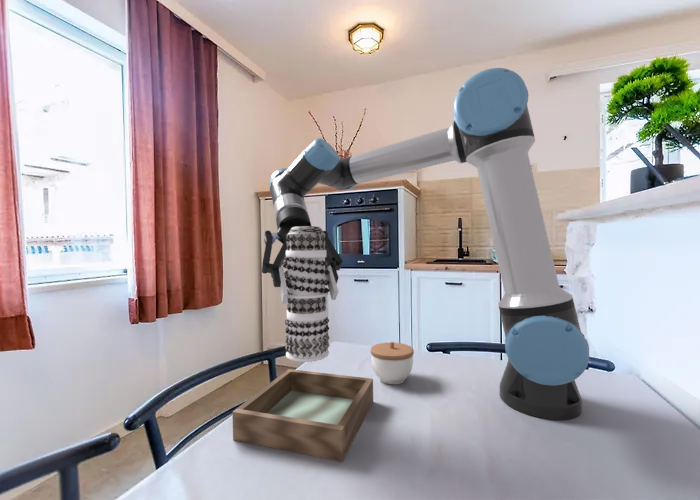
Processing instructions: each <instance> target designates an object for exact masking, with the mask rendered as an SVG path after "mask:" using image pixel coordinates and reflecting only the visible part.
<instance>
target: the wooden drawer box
mask: <svg viewBox="0 0 700 500" xmlns="http://www.w3.org/2000/svg"><path fill="white" fill-rule="evenodd" d="M373 403H374V378H369V377H361V376H352V375H345V374H343V375H342V374H336V373H327V372H326V373H325V372H317V371H310V370H309V371H307V370H299V369H291V368H288V369H287V370H286V371H285V370H284V372H283V373H281V374H279V376H277V377H276V378H275V379H274V380H272V381H270V383H268V384H267V385H266V386H264V387H263V388H262V389H261V390H259V391H257V392H256V393H255V394H254V395H252V396H251V397H250V398H249V399H247V400H246V401H245V402H244V403H242V404H240V405H239V406H238V407H237V408H236V409H234V410H232V440H233V441H238V442H243V443H246V444H253V445H257V446H262V447H266V448H267V447H268V448H272V449H278V450H283V451H288V452H291V453H292V452H293V453H296V454H297V453H298V454H303V455H308V456H313V457H316V458H317V457H318V458H320V459H321V458H323V459H327V460H328V459H329V460H333V461H338V462H343V461H344V459H345V458H346V456H347V454H348V452H349V449H350V448H351V446H352V444H353V442H354V439H355V438H356V436H357V434H358V433H359V430H360V428H361V427H362V424H363V423H364V421H365V419H366V417H367V415H368V412H369V411H370V409H371V407H372V405H373Z"/></svg>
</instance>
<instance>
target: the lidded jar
mask: <svg viewBox="0 0 700 500" xmlns="http://www.w3.org/2000/svg"><path fill="white" fill-rule="evenodd" d="M414 352H415V350H414V348H413V347H412V346H410V345H408V344H405V343H401V342H394V341H389V342H381V343H377V344H374V345H372V346H371V348H370V358H371V360H370V361H371V365H372V369H373V371H374V373H375V375H376V376H377V377H378V378H379V379H380V382H382V383H384V384H388V385H400V384H402V383H404V382H405V380H406V379H407V378H408V377H409V375H410V374H411V373H412V370H413V367H414V366H413V365H414Z"/></svg>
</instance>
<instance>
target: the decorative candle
mask: <svg viewBox="0 0 700 500" xmlns="http://www.w3.org/2000/svg"><path fill="white" fill-rule="evenodd" d="M323 231H324V230H323V229H322V228H321V227H320V226H312V225H311V226H298V227H292V228H291V229H290V231H289V233H288V234H287V236H286V239H287V240H286V243H287V250H286V256H284V257H283V256H282V258H283V259H284V262H283V263H282V267H283V269H287V270H286V271H285V270H284V275H285V281H286V286H287V292H288V297H287V302H286V304H287V309H286V319H285V320H284V324H285V325H286V327H284V328H285V329H284V331H285V333H286V334H287V335H286V336H285V337H284V341H285V343H286V344H285V345H284V346H285V359H287V360H290V361H293V362H298V363H309V362H317V361H320V360H324V359H325V358H328V356H329V355H330V352H329V348H330V347H331V345H330V344H329V340H330V335H329V333H327V332H328V331H329V330H330V327H329V325H328V323H329V322H330V319H329V318H328V308H327V296H329V293H330V292H329V289H328V288H327V287H326V286H328V284H329V281H327V280H326V278H325V275H328V274H329V273H330V271H328V270H326V269H325V268H327V267H328V266H329V265H330V264H329V263H328V262H327V261H326V262H325V257H326V250H325V235H326V234H324V232H323Z"/></svg>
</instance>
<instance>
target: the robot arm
mask: <svg viewBox="0 0 700 500" xmlns="http://www.w3.org/2000/svg"><path fill="white" fill-rule="evenodd" d="M453 101H454V102H453V112H452V113H453V119H454V120H453V121H452V122H451V124H450V125H449V126H448V127H445V128H442V129H438V130H435V131H431V132H429V133H426V134H421V135H419V136H414V137H411V138H409V139H405V140H401V141H398V142H394V143H391V144H386V145H385V146H384V145H383V146H381V147H378V148H374V149H370V150H367V151H364V152H360V153H357V154H354V155H351V156H348V157H344V158H340V155H339V154H338V152H337V151H336V150H335V148H334V147H333V146H332V145H331V144H330V143H329V142H328V141H326V140H325V139H324V138H321V137H320V138H319V137H318V138H316V139H314V140H313V141H312V142H311V143H310V144H309V145H308V146H306V147H305V149H303V151H302V152H301V153H300V154H299V155H298V157H296V159H295V160H294V161H293V162H292V163H291V164H290V166H288V168H284V167H283V168H280V169H278V170H275V171H273V173H272V174H271V176H270V178H269V192H270V195H271V200H272V205H273V210H274V217H275V223H276V229H277V232H271V231H270V230H265V231H264V240H263V242H264V244H265V247H264V252H263V257H262V263H261V264H262V266H261V273H262V274H268V273H269V274H270V277H271V278H272V283H273V286H274V288H279V292H280V299H281V304H282V305H284V304H287V297H288V292H287V289H288V287H287V286H286V281H285V280H286V278H285V275H284V273H285V270H284V269H285V268H284V267H283V265H282V263H283V262H285V260H284V259H283V258H282V256H283V257H284V256H286V250H287V243H286V240H287V239H286V236H287V234H288V233H289V231H290V229H291V228H292V227H298V226H312V222H311V219H310V216H309V211H308V208H307V205H306V201H305V196H307V194H308V193H309V192H310V191H312V190H313V189H314V188H315V187H316V186H317V185H318V184H320V185H324V186H328V187H330V188H331V187H332V188H334V189H336V190H339V191H351V190H352V189H354V188H355V187H356V186H357V185H359V184H363V183H368V182H372V181H375V180H380V179H383V178H388V177H389V178H390V177H392V176H396V175H401V174H403V173H409V172H412V171H416V170H421V169H425V168H428V167H433V166H437V165H441V164H445V163H449V162H454V161H455V162H457V163H459V164H465V163H468V164H469V165H471V166H473V167H474V168H476V170H477V174H478V179H479V185H480V187H481V193H482V196H483V197H482V198H483V200H484V205H485V206H484V207H485V210H486V215H487V219H488V223H489V228H490V233H491V237H492V241H493V246H494V250H495V254H496V259H497V262H498V263H497V264H498V268H499V272H500V276H501V281H502V285H503V290H504V295H503V297H502V298H501V299H500V300H499V302H498V309H499V314H500V318H501V323H502V328H503V333H504V336H505V339H504V350H505V354H506V356H507V363H506V366H505V369H504V371H503V374H502V376H501V380H500V382H499V398H500V399H501V400H502V402H504V404H506V405H507V406H509V407H510V408H512V409H514V410H516V411H519V412H521V413H523V414H526V415H530V416H533V417H538V418H544V419H548V420H549V419H550V420H570V419H574V418H577V417H579V416H580V415H581V414H582V412H583V407H582V406H583V401H582V396H581V394H580V391H579V389H578V386H577V383H576V381H575V380H577V379H578V378H579V377H580V376H582V375H583V374H584V372H585V371H586V369H587V367H588V365H589V363H590V362H589V361H590V345H589V343H588V340H587V338H585V335H584V333H583V332H582V330H581V326H580V322H579V318H578V313H577V310H576V306H575V301H574V297H573V295H572V294H571V293H569V292H568V291H566V290H564V289H562V287H561V286H560V283H559V279H558V275H557V272H556V267H555V266H556V265H555V263H554V259H553V254H552V250H551V246H550V242H549V237H548V233H547V228H546V224H545V220H544V216H543V211H542V208H541V204H540V203H541V202H540V198H539V194H538V190H537V186H536V182H535V178H534V174H533V169H532V165H531V162H530V161H531V160H530V156H529V151H530V150H531V149H532V147H533V146H534V144H535V141H536V137H535V133H534V129H533V125H532V120H531V116H530V113H529V108H528V102H529V90H528V87H527V85H526V83H525V80H524V79H523V78H522V77H521V76H520V75H519V74H518V73H517V72H515V71H514V70H511V69H508V68H505V67H492V68H487V69H484V70H481V71H480V72H477V73H475V74H474V75H472V76H470V78H469V79H467V80H466V81H465V82H464V83H463V84H462V86H461V87H460V88H459V90H458V92H457V93H456V95H455V99H454V100H453ZM322 231H323V232H324V234H326V235H325V250H326V257H325V262H326V261H327V262H328V263H329V264H330V265H329V266H328V267H327V268H325V269H326V270H328V271H330V273H329V274H328V275H325V279H326V280H327V281H329V284H328V285H327V287H328V289H329V292H328V293H329V295H330V299H331V300H332V301H333V300H336V299H337V297H338V294H339V288H338V285H337V284H338V281H339V275H338V271H340V269H341V267H342V265H343V261H344V260H343V259H342V257H341V256H340V254H339V253H338V251H337V249H336V248H335V247H334V245H333V243H332V242H331V240H330V238H329V232H328V231H327V230H322ZM276 240H278V241H279V242H280V243H282V246H281V248H280V250H279V252H278V254H277V255H276V257H275V258H274V261H273V263H271V262H270V261H271V257H272V248H273V245H274V243H276Z"/></svg>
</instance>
